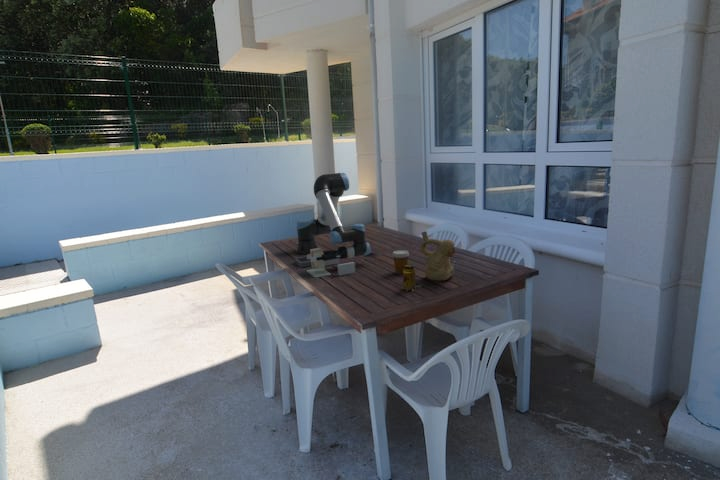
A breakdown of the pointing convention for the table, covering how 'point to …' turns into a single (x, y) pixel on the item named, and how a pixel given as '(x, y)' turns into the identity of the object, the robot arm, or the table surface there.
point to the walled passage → (342, 266)
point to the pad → (318, 272)
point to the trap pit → (303, 262)
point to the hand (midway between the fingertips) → (308, 258)
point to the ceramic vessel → (438, 258)
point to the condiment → (409, 277)
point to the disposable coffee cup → (400, 260)
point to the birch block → (317, 263)
